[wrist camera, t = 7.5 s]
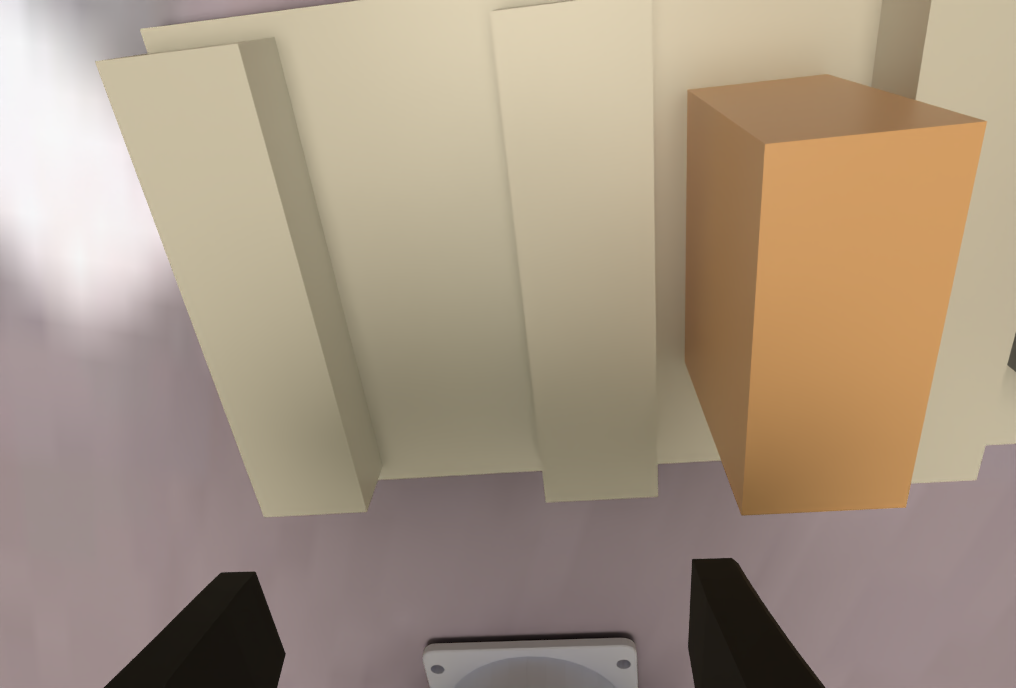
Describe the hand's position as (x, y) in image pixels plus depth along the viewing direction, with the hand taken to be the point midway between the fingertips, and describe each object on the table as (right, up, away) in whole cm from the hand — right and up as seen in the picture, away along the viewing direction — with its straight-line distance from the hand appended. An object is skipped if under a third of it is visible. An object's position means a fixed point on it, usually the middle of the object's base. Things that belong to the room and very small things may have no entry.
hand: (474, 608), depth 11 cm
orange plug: (+6, +7, +5) cm, 11 cm away
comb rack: (+7, +7, +6) cm, 12 cm away
